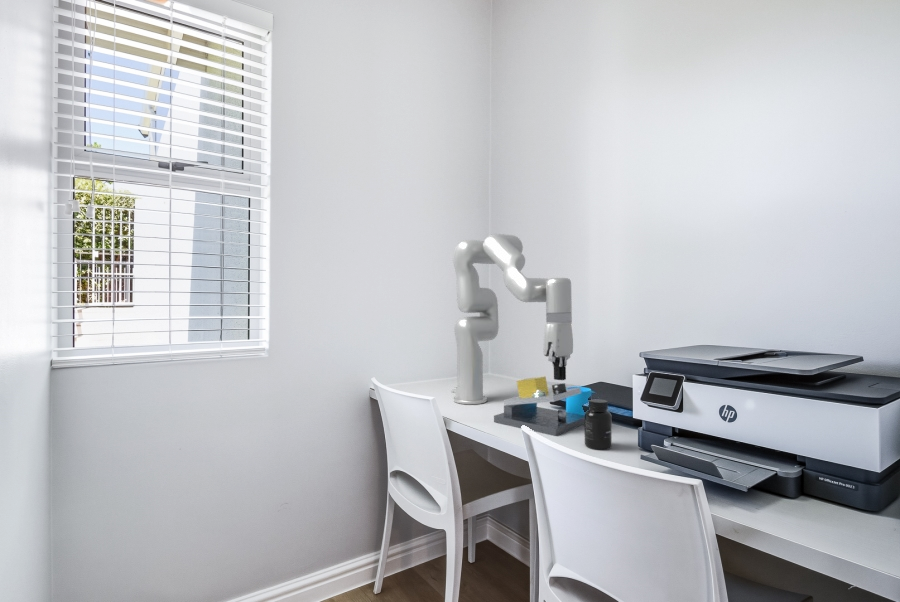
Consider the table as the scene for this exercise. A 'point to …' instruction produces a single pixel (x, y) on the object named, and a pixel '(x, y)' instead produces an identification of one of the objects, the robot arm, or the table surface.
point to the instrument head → (540, 392)
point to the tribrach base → (539, 418)
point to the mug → (578, 401)
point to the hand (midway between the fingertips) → (559, 379)
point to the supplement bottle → (598, 425)
